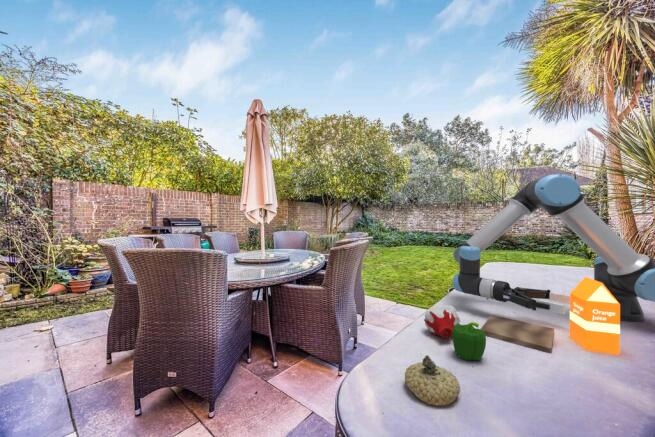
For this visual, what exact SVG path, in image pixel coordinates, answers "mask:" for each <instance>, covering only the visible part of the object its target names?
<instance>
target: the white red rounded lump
mask: <svg viewBox="0 0 655 437" xmlns="http://www.w3.org/2000/svg"><path fill="white" fill-rule="evenodd" d="M423 321H424V324H425V327H426V328H427V329H428V331H429V333H431V334H433V335H435V336H441V338H443V339H448V338H450V337H452V331H453V328H454V326H455V325H456V324H460V322H461V318H460V316H458V313H457V310H456V308H455V307H454V306H453V305H451V304H450V305H443V304H442V305H441V304H438V305H434V306H433V307H431V308H429V309H428V310H426V311H425V313H424V318H423Z"/></svg>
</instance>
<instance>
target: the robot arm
mask: <svg viewBox="0 0 655 437" xmlns="http://www.w3.org/2000/svg"><path fill="white" fill-rule="evenodd" d="M585 200H586V197H585V195H584V194H582V192H581V184H580V183H579V182H578V181H577V180H576V179H575V178H574V177H572V176H570V175H567V174H562V173H560V174H559V173H558V174H556V173H555V174H549V175H546V176H544V177H540V178H536V179H533V180H531V181H529V182H528V183H526V184H525V185H524V186H523V187H522V188H521V189H520V190H519V191H518V192H517V193H516V194H514V196H512V198H510V199H509V204H507V205H505V207H504V208H503V209H502V210H501V211H499V212H498V213H497V214H496V215H495V216H494V217H492V218H491V219H490V220H489V221H488V222H487V223H486V224H485V225H484V226H482V228H480V229H479V230H478V231H477V232H476V233H474V234H473V235H472V236H471V237H470V238H469V239H467V241H465V242H464V243H463V244H462V245H460V246H459V247H457V248H455V249H454V250H453V253H452V255H453V256H452V257H453V259H454V261H455V262H457V263H458V264H459V270H458V271H459V272H458V273H455V274H454V275H453V278H452V287H453V289H454V290H455V291H456V292H460V293H463V294H465V295H466V294H468V295H473V296H475V297H476V296H478V297H482V298H485V299H486V300H494V301H498V302H501V303H507V302H510V303H512V304H515V305H517V306H521V307H524V308H526V309H528V310H532V311H534V312H535V311H537V310H543V311H547V312H551V313H555V314H561V315H565V314H566V313H565V307H566V306H565V304H566V305H570V295H568V294H567V295H566V294H561V293H556V292H551V289H547V290H546V289H537V288H527V287H519V286H517V287H514V288H512V287H511V285H510V283H509V282H508V281H503V280H496V279H492V278H487V277H481V253H483V252H484V251H486V249H487V248H488V247H490V246H491V245H492V244H493V243H494V242H495V241H496V240H498V239H499V238H500V237H501V236H502V235H505V233H506V232H507V231H509V230H510V229H511V228H512V227H513V226H515V225H516V224H517V223H518V222H519V221H520V220H521V219H522V218H524V217H525V216H530V215H532V213H533V212H535V211H536V210H539V209H541V208H543V210H544V211H545V212H547V214H549V215H550V216H551V217H557V218H559V219H560V220H561V221H562V222H563V223H564V224H565V225H566V226H567V227H568V228H569V229H570V230H571V231H572V232H573V233H574V234H575V235H576V236H578V238H579V239H581V240H582V242H583V243H585V244H586V246H588V247H589V248H590V249H591V250H592V251H593V252H594V253H595V254H596V256H597V257H595V258H594V263H593V268H594V269H593V270H594V271H593V280H595V281H598V282H601V283H603V285H604V286H605V287H606V288H607V289H608V291H609V292H610V293H611V294H612V295H613V297H614V298H615V299H616V300H617V301H618V303H619V304H620V321H626V322H627V321H629V322H643V321H645V313H644V310H643V309H642V306H641V304H640V302H639V299H641V300H644V301H650V302H654V303H655V261H654V260H653V259H652V258H651V257H649V255H647V254H642V253H638V252H637V251H635V250H634V249H633V248H632V247H631V246H630V245H629V244H628V243H627V242H626V241H625V240H624V239H622V238H621V237H620V236H619V234H617V233H616V232H615V231H614V230H613V229H612V228H611V227H610V226H609V225H608V224H607V223H605V222H604V220H603V219H601V218H600V217H599V216H598V215H597V214H596V213H595V212H594V211H593V210H592V209H591V208H590V207H589V206H588V205H587V204H586V203H585ZM638 298H639V299H638ZM536 299H537V300H536ZM546 300H549V301H546ZM551 301H552V302H551ZM555 302H556V303H555Z"/></svg>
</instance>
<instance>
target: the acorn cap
mask: <svg viewBox="0 0 655 437" xmlns="http://www.w3.org/2000/svg"><path fill="white" fill-rule="evenodd" d="M404 382H405V384H406V386H407V387H408V389H409V390H410V391H411V392H412V394H414V395H415V397H417V398H418V399H419V400H421V401H422V402H424V403H426V404H427V405H430V406H431V405H432V406H435V407H442V406H444V407H445V406H446V405H447V406H448V405H449V404H452V403H453V402H454V401H455V400H456V399H457V397H458V396H459V395H460V393H461V386H460V384H459V383H460V382H459V380H458V378H457V377H456V376H455V375H454V374H453V373H452V372H451V371H450V370H448V369H445V368H443V367H442V366H439V365H436V363H435V361H434V360H432V358H431V357H430V356H429V355H425V356H424V358H423V359H422V361H421V362H420V361H419V362H417V363H414V364H411V365H410V366H408V367H407V368H406V369H405V373H404Z"/></svg>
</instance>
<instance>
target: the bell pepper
mask: <svg viewBox="0 0 655 437" xmlns="http://www.w3.org/2000/svg"><path fill="white" fill-rule="evenodd" d="M479 325H480V323H478V322H473V321H472V322H469V323H467V324H456V325H455V326H454V328H453V331H452V336H451V337H452V344H453V348H454V352H455V354H456V356H458V357H459V358H460V359H463V360H464V361H465V360H466V361H470V360H472V361H479V360H480V359H481V358H483V355H484V353H485V349H486V347H487V346H486V345H487V336H486V335H485V332H484V330H481V328H478V327H479Z"/></svg>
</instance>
